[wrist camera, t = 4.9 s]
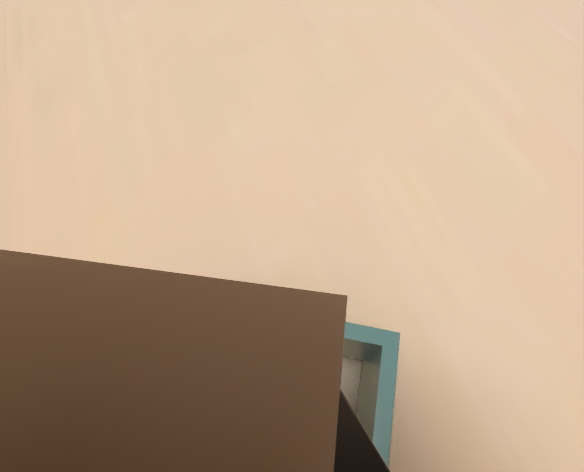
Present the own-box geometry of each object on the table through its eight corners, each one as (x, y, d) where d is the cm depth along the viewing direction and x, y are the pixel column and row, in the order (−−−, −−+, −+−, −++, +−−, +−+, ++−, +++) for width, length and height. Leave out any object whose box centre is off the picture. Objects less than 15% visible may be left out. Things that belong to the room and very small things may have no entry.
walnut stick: (286, 499, 13) (305, 844, 2) (182, 484, 14) (-236, 747, 3) (299, 387, 15) (346, 295, 4) (205, 374, 15) (-1, 248, 4)
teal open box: (360, 498, 19) (383, 521, 15) (218, 465, 20) (199, 478, 15) (376, 349, 22) (400, 333, 18) (251, 324, 23) (244, 301, 18)
